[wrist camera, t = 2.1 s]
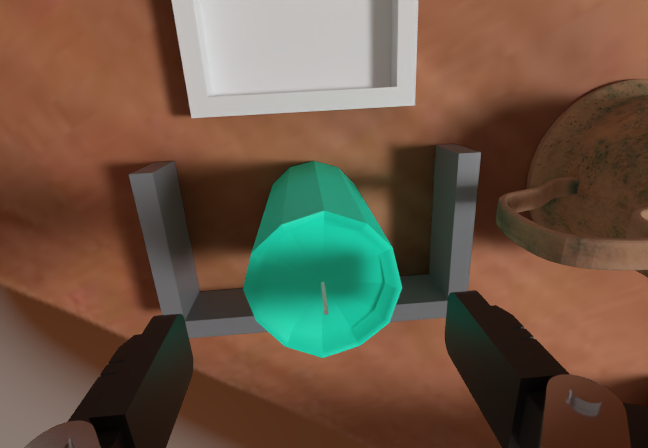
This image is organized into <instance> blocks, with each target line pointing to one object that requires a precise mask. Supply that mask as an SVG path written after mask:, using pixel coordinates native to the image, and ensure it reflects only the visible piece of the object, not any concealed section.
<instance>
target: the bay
mask: <svg viewBox="0 0 648 448" xmlns="http://www.w3.org/2000/svg"><path fill="white" fill-rule="evenodd" d="M480 159H481V152H479V151H476V150H473V149H469V148H466V147H463V146H460V145H457V144H443V145H436V149H435V168H434V187H433V205H432V224H431V243H430V262H429V274H423V275H410V276H400V280H401V284H402V290H401V292H400V295H399V298H398V301H397V303H396V306H395V309H394V311H393V314H392V317H391V320H390V322H395V321H407V320H420V319H432V318H444V317H446V313H447V301H448V296H449V294H450V293H451V292H462V291H468V284H469V273H470V263H471V252H472V242H473V232H474V221H475V211H476V200H477V190H478V180H479V169H480ZM129 179H130V183H131V187H132V191H133V195H134V199H135V204H136V208H137V212H138V216H139V220H140V224H141V229H142V233H143V237H144V241H145V245H146V249H147V254H148V258H149V262H150V266H151V270H152V275H153V279H154V283H155V287H156V291H157V295H158V300H159V304H160V308H161V312H162V315H171V314H182V315H183V317H184V319H185V323H186V328H187V332H188V337H189V338H198V337H210V336H222V335H235V334H247V333H259V332H268V331H267V330H266V329H265V328H263V327H262V326H261V325H260V324H259V323H258V322H257V321H256V320H255V317H254V315H253V312H252V310H251V308H250V305H249V303H248V300H247V298H246V296H245V293H244V291H243V288H240V289H226V290H213V291H200V290H199V284H198V279H197V274H196V269H195V264H194V258H193V253H192V248H191V243H190V238H189V233H188V227H187V222H186V217H185V212H184V207H183V201H182V196H181V191H180V186H179V181H178V175H177V170H176V165H175V161H167V162H154V163H152V164H150V165H148V166H145V167H143V168H141V169H139V170H137V171H135V172H133V173H130V174H129Z"/></svg>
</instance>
